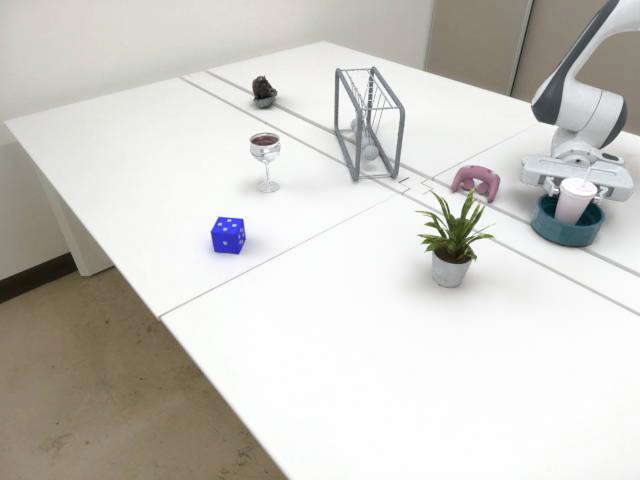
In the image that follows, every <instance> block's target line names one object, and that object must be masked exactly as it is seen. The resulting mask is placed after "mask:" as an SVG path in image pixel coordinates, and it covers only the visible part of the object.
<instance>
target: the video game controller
mask: <svg viewBox="0 0 640 480" xmlns="http://www.w3.org/2000/svg"><path fill="white" fill-rule="evenodd" d="M474 179H475V180H477V181H481V182H480V183H479V184H478V185H477V188H476V190H477V192H478V193H480V194H486V193H488V194H487V195H488V197H487V202H488V203H492V202H493V201H494V200H495V198H496V196H497V193H498V192H499V189H500V188H499V187H500V185H501V181H502V180H501V177H500V175H499V174H497V173H496V172H495V171H493V170H492V169H490V168H487V167H485V166H481V165H473V164H472V165H471V164H470V165H469V164H468V165H464V166H462V167H460V168H459V169H458V170H457V172H456V173H455V176H454V177H453V179H452V184H451V186H450V187H451V188H450V190H451V192H452V193H454V192H456V191H457V190H458V189H459V187H460V186H461V184H463V188H464V189H465V190H471V189H472V188H473V187H474V188H475V181H474Z"/></svg>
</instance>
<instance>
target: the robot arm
mask: <svg viewBox="0 0 640 480" xmlns="http://www.w3.org/2000/svg"><path fill="white" fill-rule="evenodd" d="M629 32H640V0H607V1H606V2H605V3H604V4H603V5H602V6H601V7H600V9H599V10H598V11H597V12H596V13H595V14H594V16H593V17H592V18H591V20H590V21H589V22H588V24H587V25H586V26H585V27H584V29H583V30H582V31H581V32H580V34H579V35H578V37H577V38H576V40H575V41H574V43H573V44H572V45H571V47H570V48H569V50H568V51H567V52H566V54H565V55H564V56H563V58H562V59H561V60H560V62H559V63H558V65H557V66H556V67H555V68H554V70H553V71H552V73H550V75H548V77H547V78H546V80H544V82H543V83H541V85H540V86H539V87H538V89H537V90H536V92H535V93H534V96H533V98H532V100H531V104H530V108H531V112H532V114H533V116H534V118H535V119H536V121H537V122H538V123H542V124H545V125H550V126H556V127H557V128H556V130H555V132H554V133H553V135H552V139H551V142H550V157H548V156H543V155H536V154H535V155H530V156H528V157H525V156H524V157H523V158H522V159H521V166H522V171H521V175H520V177H519V181H520V182H521V183H522V184H524V185H528V186H534V187H539V188H543V189H544V190H545V191H546V192H547V193H549V196H551V197H558V194H559V192H560V184H561V182H562V181H563V180H564V179H566V178H580V179H584V178H585V175H586V173H587V171H588V168H589V167H592V170H591V172H590V174H589V177H588V179H587V181H589V182H591V183H592V184H594V185H595V186H596V188H597V193H596V196H595V197H594V198H592V199H591V204H593V205H598V206H599V207H600V206H601V204H602V202H603V201H604V200H608V201H612V202H613V201H614V202H619V203H625V202H627V201H628V200H629V199H630V197H631V196H632V193H633V191H634V189H635V183H634V180H633V177H632V175H631V172H630V171H629V170H628V169H627V168H626V167H624V165H625V160H624V158H622V157H619V156H616V155H613V154H610V153H606V152H604V151H602V149H604V148H606V147H607V146H609V145H610V144H612V143H613V142H614V140H616V139H617V137H618V136H619V135H620V133H621V132H622V130H623V129H624V127H625V125H626V122H627V119H628V114H629V111H628V104H627V100H626V98H625V97H624V95H620V94H618V93H616V92H615V93H614V92H612V91H608V90H605V89H603V88H598V87H596V86H593V85H589V84H586V83H583V82H581V81H578V80H577V79H576V76H577V75H578V73H579V72H580V71H581V70H582V68H583V66H584V65H585V64H586V63H587V61H588V60H589V59H590V57H591V56H592V55H593V53H595V51H596V49H598V47H599V46H600V45H601V43H603V41H605V40H606V39H608V38H609V37H611V36H614V35H616V34H620V33H629Z"/></svg>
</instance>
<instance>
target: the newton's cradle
mask: <svg viewBox="0 0 640 480" xmlns="http://www.w3.org/2000/svg"><path fill="white" fill-rule="evenodd" d="M354 71H366V72H367V73H368V80H367V81H366V83H367V85H366V86H365V87H363V89H365V92H364V97H362V93H360V91H359V90H358V87H356V85H355V84H356V81H353V79H352V76H350V74H349V72H354ZM343 72H345V73H346V75H347V77H348V79H349V81H350V83H351V87H350V85H349V82H348V81H347V78H346V76H345V75H344V73H343ZM375 76H376V78H377V79H378V81H379V82H380V83H381V85H382V86H383V88H384V90H385V91H386V93H387V94H388V96H389V97H390V99H391V100H392V102H393V103H394V104H395V106H393V105H392V103H391V102H390V100H389V98H388V97H387V95H386V94H385V93H384V91H383V89H382V88H381V86H380V85H379V83H378V82H377V81H376V79H375ZM359 77H360V78H363V77H365V75H358V76H355V78H359ZM340 81H341V84H342V85H343V88H344V90H345V91H346V93H347V96H348V97H349V100H350V101H351V103H352V105H353V107H354V112H356V113H355V118H353V119H352V121H351V122H350V128H347V129H346V128H345V129H339V104H340ZM374 84H375V85H376V87H375V93H374V92H373V91H374ZM377 90H379V92H380V93H379V94H380V95H379V98H378V99H377V101H378V102H377V106H376V107H374V103H375V99H376V94H377ZM367 91H368V93H367ZM366 95H367V96H368V97H367V99H365V98H366ZM373 95H374V96H373ZM381 96H383V98H382V99H381ZM382 100H383V105H382V107H379V103H380V101H382ZM366 101H367V104H366V103H365V102H366ZM359 102H360V103H359ZM386 102H387V103H388V105H389V106H387V107H385V103H386ZM360 104H361V105H360ZM333 106H334V107H333V108H334V109H333V110H334V112H333V113H334V115H333V121H334V122H333V124H334V125H333V127H334V131H335V135H336V137H337V139H338V143H339V146H340V148H341V150H342V153H343V156H344V158H345V161H346V163H347V166H348V169H349V172H350V173H351V177H352V179H353V181H358V180H359V178H360V179H361V178H372V177H386V176H392V178H395V179H396V178H397V177H398V175H399V171H400V163H401V156H402V147H403V137H404V130H405V124H406V123H405V122H406V109H405V107H404V104H403V103H402V102H401V101H400V99H399V98H398V96H397V95H396V94H395V92H394V91H393V89H392V87H390V85H389V83H388V82H387V81H386V79H385V78H384V77H383V75H382V74H381V73H380V71H379V70H378V68H377V67H376V66H374V65H373V66H371V67H367V68H365V67H364V68H347V69H345V68H344V69H341V68H340V67H337V68H336V69H335V72H334V105H333ZM395 109H397V110H398V112H399V121H398V130H397V140H396V148H395V155H394V156H395V157H394V165H392V164H391V161H390V159H389V158H388V156H387V154H386V152H385V150H384V148H383V147H382V145H381V143H380V140H379V139H378V137H377V133H378V129H379V127H380V122H381V118H382V114H383V111H384V110H395ZM380 110H381V113H380V116H379V120H378V124H377V127H376V132H375V131H374V130H373V126H374V121H375V118H376V114H377V111H380ZM372 111H375V113H374V116H373V121H372ZM363 113H364V114H363ZM365 121H366V124H365ZM371 121H372V122H371ZM348 131H349V132H351V131H353V134H354V136H355V137H356V140H355V141H356V142H355V158H354V159H355V161H354V165H353V162H352V159H351V157H350V153H349V152H348V149H347V146H346V144H345V141H344V139H343V135H342V134H341V132H348ZM362 152H363V153H362ZM362 154H363V157H364V158H365V160H367V161H370V162H371V161H375V160H376V159H377V158H379V155H380V156H381V158H382V160H383V162H384V164H385V166H386V168H387V169H388V170H387V171H388V172H389V173H381V174H380V173H379V174H365V175H360V173H361V172H360V171H361V155H362ZM393 166H394V167H393Z"/></svg>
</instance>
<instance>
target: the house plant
mask: <svg viewBox="0 0 640 480" xmlns="http://www.w3.org/2000/svg"><path fill="white" fill-rule="evenodd" d="M427 190H429V192H430V193H432V195H433V196H434V197H435V198H436V200H437V201H438V203H439V206H440V208H441V211H442V214H443V217H444V219H445V222H446V224H447V226H446V224H445V223H444V221H443V220H442V219H441V218H440V217H439V216H437V215H436V214H435V213H433V212H431V211H426V210H415V211H414V212H415V213H420V214H423V216H426V217H429V218H432V221H428V222H426V223H424V224H423V226H426V227H431V228H433V229H436V230H437V232H438V233H439V235H434V234H427V233H425V234H420V233H419V234H417V237H420V238H424V239H423V240H422V241H421V243H420V244H419V245H427V247H426V249H425V250H424V252H423V254H425V253H427V252H431V270H432V271H431V274H432V275H431V276H432V280H433V281H434V282H435V283H436V284H437V285H439V286H440V287H443V288H448V289H449V288H457V287H458V286H459V285H461V283H462V282H463V280H464V278H465V276H466V273H467V271H468V270H469V268H470V266H471V265H472V262H473V260H474V263H476V262H477V259H478V256H477V255H476V254H475V251H474V249H473V248H472V247H471V246H470V244H472V243H473V242H475V241H477V240H483V239H489V238H492V239H495V240H497V239H496V237H495V236H494V235H492V234H489V233H484V234H479V233H481V232H483V231H484V230H486V229H488V228H489V227H492V226H494V225H495V223H493V224H490V225H488V226H486V227H484V228H482V229H480V230H478V231H476V232H475V233H474V234H472V235H470V234H471V233H472V231H473V229H474V228H475V226H476V224H478V222H479V221H480V219H481V217H482V215H483V213H484V211H485V208H486V204H484V205H483V206H482V208H481V203H482V200H479V202H478V204H477V206H476V207H475V209H474V210H473V213H472V214H471V216H470V218H469V219H468V218H467V216H468V213H469V211H470V210H471V208H472V206H473V204H474V203H475V202H477V200H478V199H479V198H474V192H475V186H474V187H473V188H472V189H470V190H469V192H468V194H467V196H466V198H465V201H464V203H463V205H462V207H461V211H460V217H457V218H456V217H455V216H454V215H453V214H452V213H451V211H450V207H449V203H448V202H447V201H446V200H445V199H444V197H442V196H440V195H438V194H437V193H436V192H434V191H432V190H430V189H429V188H428V189H427ZM480 208H481V209H480ZM440 223H441V224H442V225H443V226H444V227H445V228H444V227H441V225H440ZM447 235H448V237H447ZM469 235H470V236H469ZM468 236H469V237H468Z"/></svg>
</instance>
